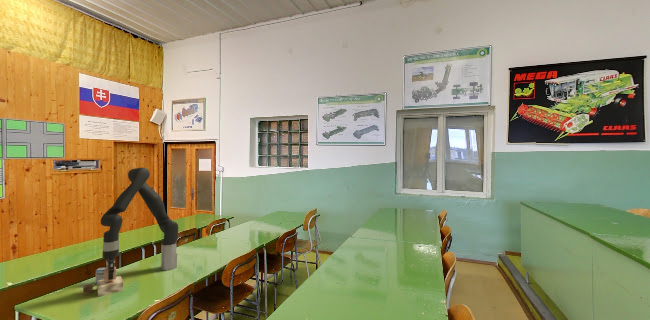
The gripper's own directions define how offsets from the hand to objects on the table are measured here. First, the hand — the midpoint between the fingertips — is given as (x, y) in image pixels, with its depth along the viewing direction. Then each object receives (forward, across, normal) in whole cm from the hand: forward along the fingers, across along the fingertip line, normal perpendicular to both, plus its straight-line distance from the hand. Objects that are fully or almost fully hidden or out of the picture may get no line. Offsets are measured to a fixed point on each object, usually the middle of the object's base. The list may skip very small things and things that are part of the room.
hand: (110, 277), depth 157 cm
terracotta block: (+1, 0, 0) cm, 1 cm away
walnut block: (+7, +4, +10) cm, 13 cm away
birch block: (+7, 0, 0) cm, 7 cm away
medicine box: (+7, +14, +2) cm, 16 cm away
